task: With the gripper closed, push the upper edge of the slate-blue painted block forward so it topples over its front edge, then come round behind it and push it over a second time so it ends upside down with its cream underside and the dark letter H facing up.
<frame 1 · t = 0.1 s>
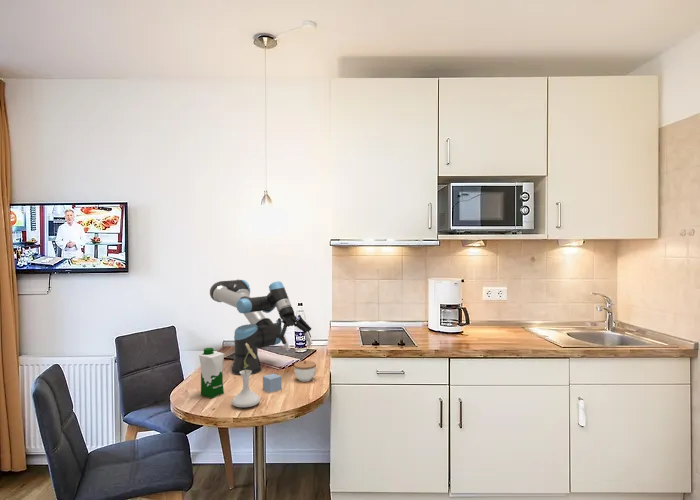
hand: (299, 346, 204), 15 cm above the table, tool tilted 35°, fingers open, 13 cm apart
flower in vase: (246, 404, 171), on the table
block: (272, 389, 188), on the table
lidded jar: (305, 380, 201), on the table
milk carton: (212, 394, 182), on the table
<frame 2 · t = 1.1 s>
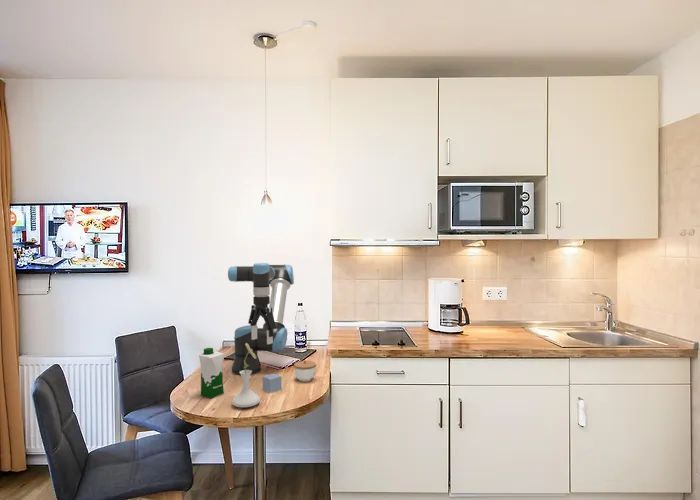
hand: (261, 341, 194), 20 cm above the table, tool pointing down, fingers open, 12 cm apart
nothing on the table moved.
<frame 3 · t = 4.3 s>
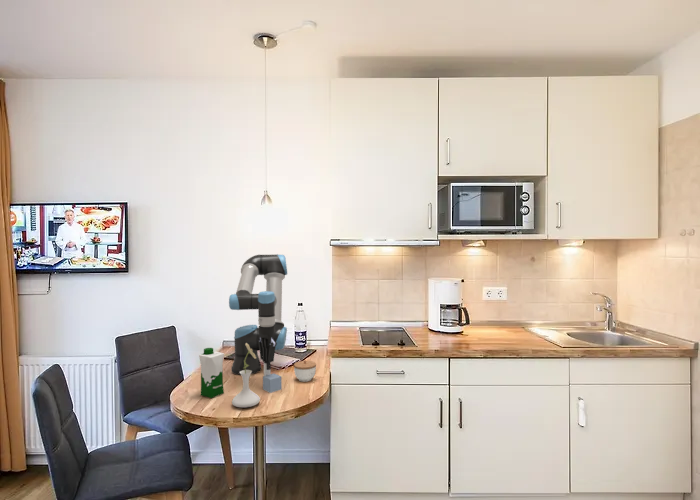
hand: (267, 376, 190), 5 cm above the table, tool pointing down, fingers closed
block: (272, 389, 188), on the table, touching gripper
everything else where it was.
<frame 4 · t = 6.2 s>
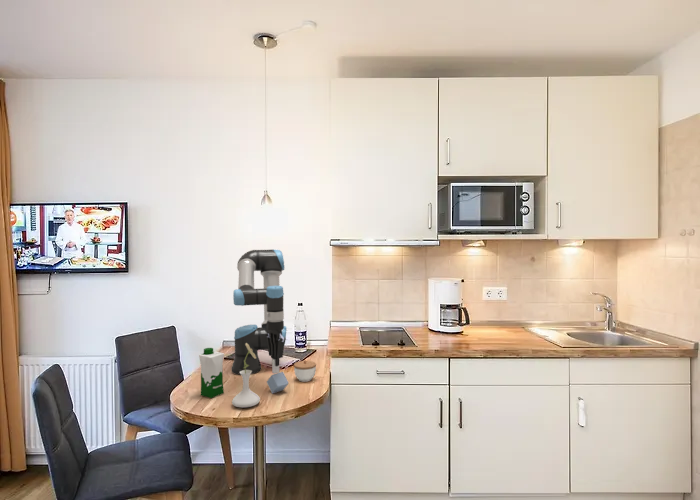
hand: (275, 372, 185), 9 cm above the table, tool pointing down, fingers closed
block: (274, 386, 186), point 2 cm above the table, tilted 45°
everything else where it was.
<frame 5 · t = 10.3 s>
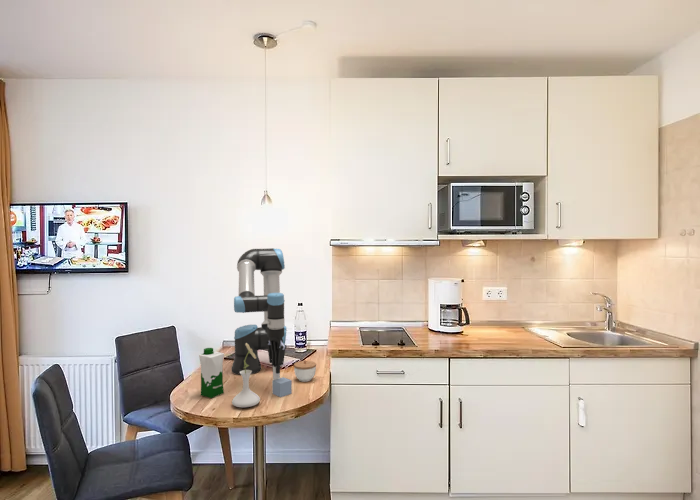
hand: (276, 379, 185), 5 cm above the table, tool pointing down, fingers closed
block: (278, 385, 185), point 3 cm above the table, tilted 90°, touching gripper
everything else where it was.
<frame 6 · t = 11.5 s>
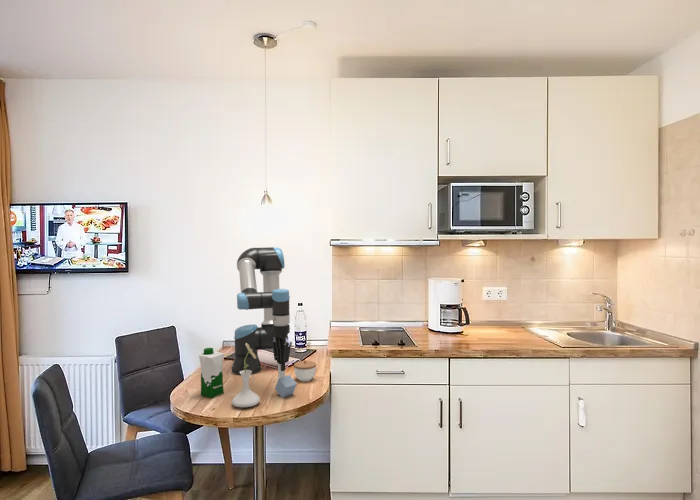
hand: (281, 377, 182), 7 cm above the table, tool pointing down, fingers closed
block: (282, 381, 182), point 6 cm above the table, tilted 119°, touching gripper
everything else where it was.
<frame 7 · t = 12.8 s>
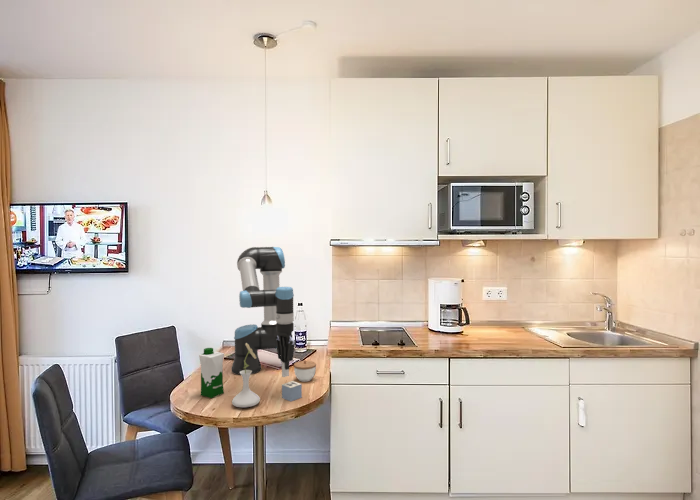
hand: (285, 376, 180), 9 cm above the table, tool pointing down, fingers closed
block: (291, 384, 178), point 6 cm above the table, tilted 180°
everything else where it was.
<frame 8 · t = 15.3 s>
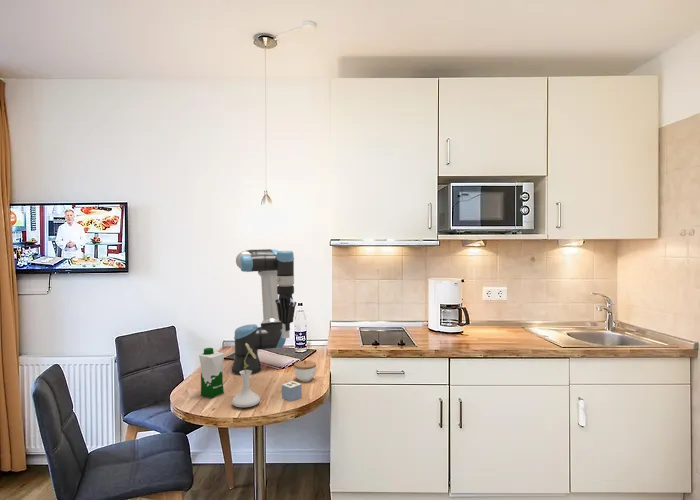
hand: (286, 337, 184), 24 cm above the table, tool pointing down, fingers closed
nothing on the table moved.
at the end: block tilted 180°; block inside the target area (0.9 cm from its centre), point 5.9 cm above the table; the gripper is holding nothing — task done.
